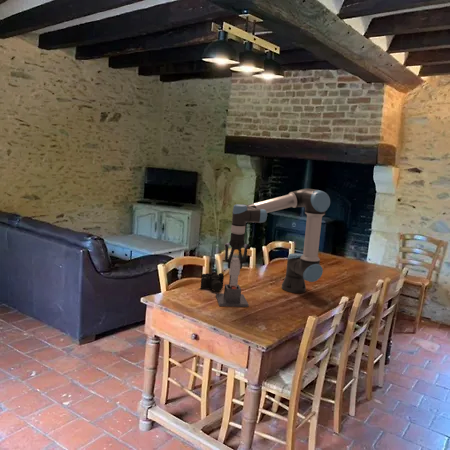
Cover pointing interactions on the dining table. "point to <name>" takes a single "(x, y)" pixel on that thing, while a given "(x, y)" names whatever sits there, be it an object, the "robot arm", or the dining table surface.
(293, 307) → the dining table surface
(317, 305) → the dining table surface
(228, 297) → the stand base
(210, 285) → the camera
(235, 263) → the column
